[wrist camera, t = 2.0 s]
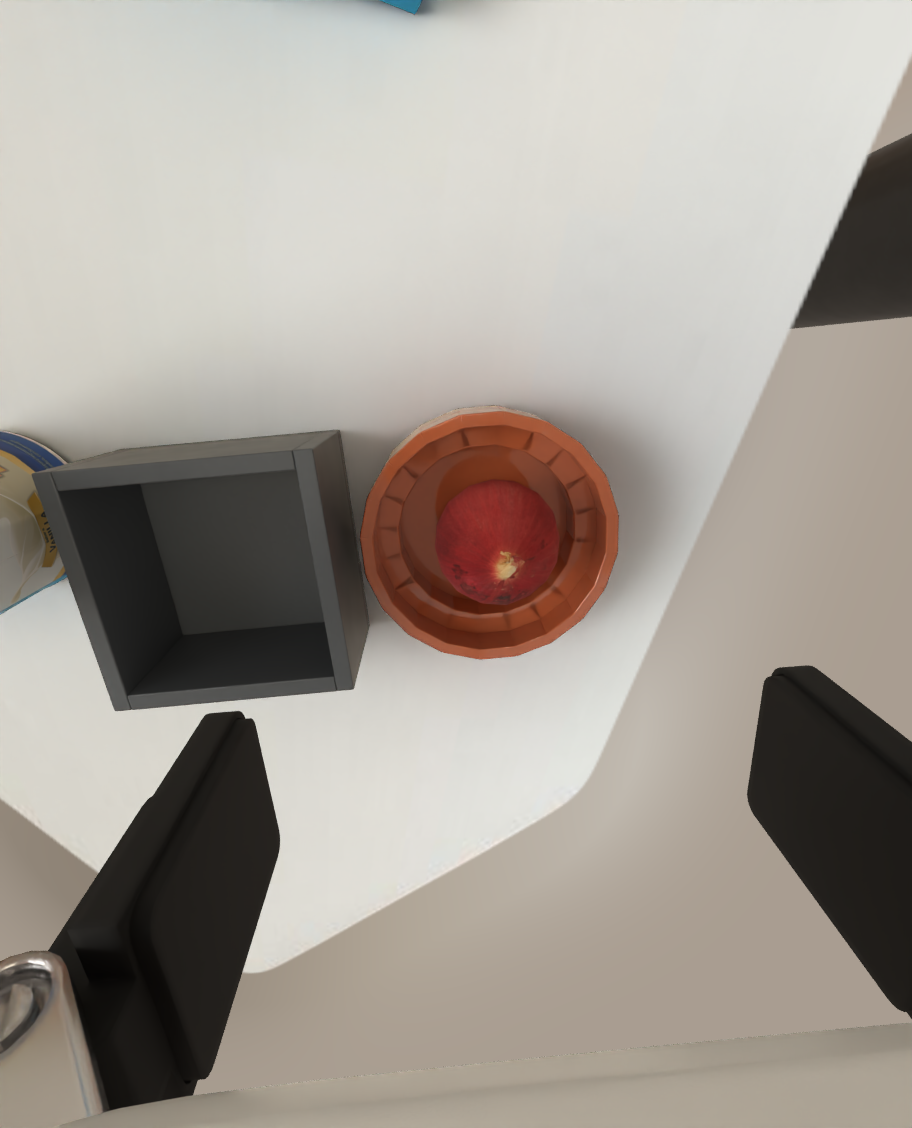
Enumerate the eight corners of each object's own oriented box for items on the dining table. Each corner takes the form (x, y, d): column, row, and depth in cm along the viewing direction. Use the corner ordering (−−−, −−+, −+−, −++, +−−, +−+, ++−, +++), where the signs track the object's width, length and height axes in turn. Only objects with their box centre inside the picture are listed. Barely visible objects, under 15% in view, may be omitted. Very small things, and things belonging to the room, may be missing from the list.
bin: (339, 429, 28) (312, 448, 21) (369, 625, 31) (354, 690, 25) (120, 449, 28) (29, 473, 21) (177, 643, 31) (114, 712, 25)
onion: (535, 575, 30) (568, 644, 23) (431, 568, 30) (430, 636, 22) (549, 471, 28) (591, 509, 21) (439, 462, 28) (441, 498, 21)
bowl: (596, 395, 28) (621, 400, 24) (594, 614, 32) (616, 647, 28) (355, 416, 27) (342, 425, 24) (385, 632, 32) (379, 669, 28)
